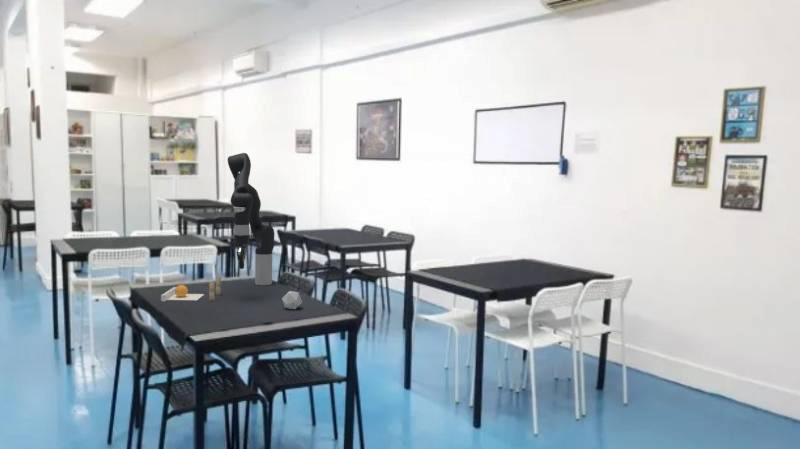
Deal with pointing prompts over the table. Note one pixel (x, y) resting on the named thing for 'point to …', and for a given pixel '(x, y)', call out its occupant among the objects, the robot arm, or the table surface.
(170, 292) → the stopper wall
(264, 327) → the table surface
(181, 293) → the ball
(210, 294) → the post
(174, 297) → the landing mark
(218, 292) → the post
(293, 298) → the die
